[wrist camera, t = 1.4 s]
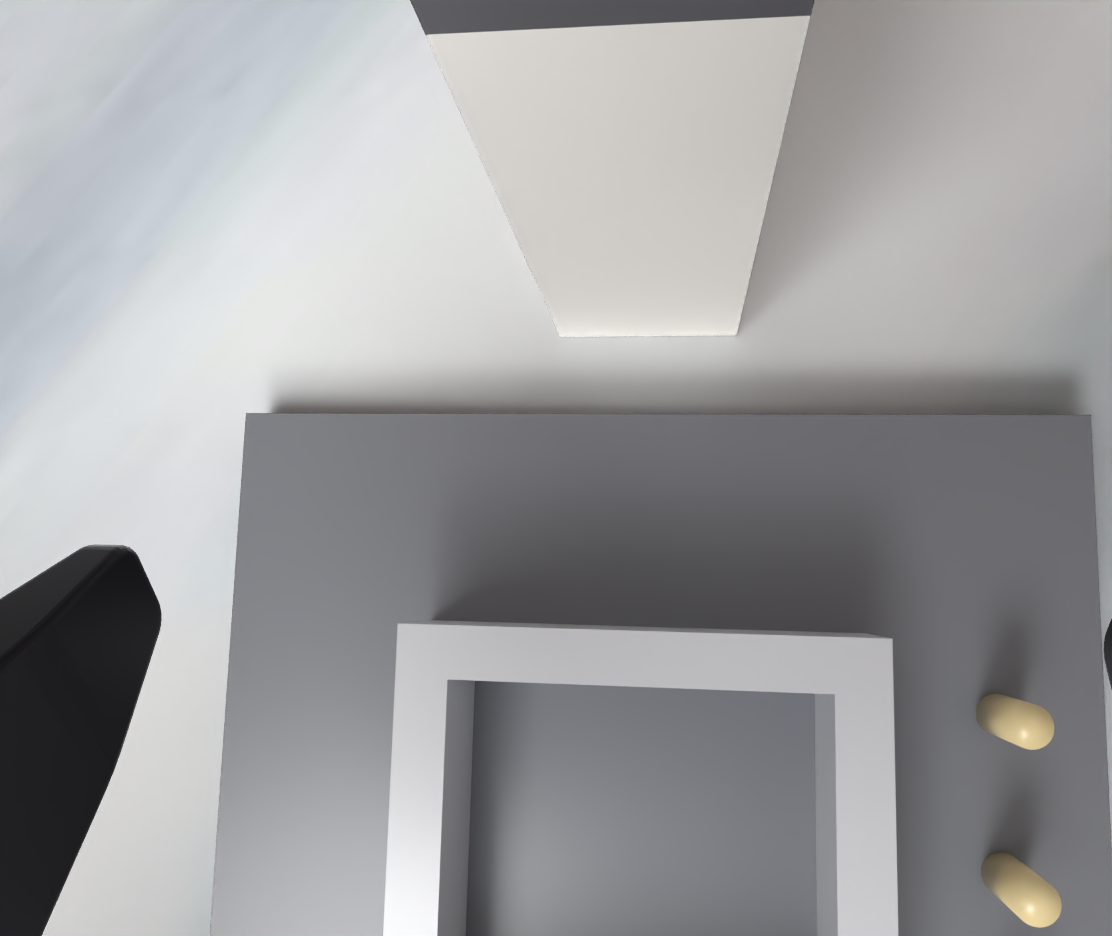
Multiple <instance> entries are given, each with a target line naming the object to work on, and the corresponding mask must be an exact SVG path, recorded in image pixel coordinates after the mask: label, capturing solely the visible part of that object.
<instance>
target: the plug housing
mask: <svg viewBox="0 0 1112 936" xmlns="http://www.w3.org/2000/svg"><path fill="white" fill-rule="evenodd" d="M410 1H411V3H412V5H413V8H414V10H415V12H416V14H417V17H418V19H419V21H420V23H421V26H422V28H423V30H424V32H425V35H426V37H427V39H428V41H429V44H430V46H431V48H432V50H433V53H434V55H435V57H436V59H437V62H438V64H439V66H440V68H441V71H442V73H443V75H444V77H445V79H446V82H447V84H448V86H449V88H450V91H451V93H452V95H453V97H454V100H455V102H456V104H457V106H458V109H459V111H460V113H461V115H462V118H463V120H464V122H465V124H466V127H467V129H468V131H469V133H470V136H471V138H472V140H473V142H474V144H475V147H476V149H477V151H478V153H479V156H480V158H481V160H482V162H483V165H484V167H485V169H486V171H487V174H488V176H489V178H490V180H491V183H492V185H493V187H494V189H495V192H496V194H497V196H498V198H499V201H500V203H501V205H502V207H503V210H504V212H505V214H506V216H507V218H508V221H509V223H510V225H511V227H512V230H513V232H514V234H515V236H516V239H517V241H518V243H519V245H520V248H521V250H522V252H523V254H524V257H525V259H526V261H527V263H528V266H529V268H530V270H531V272H532V275H533V277H534V279H535V281H536V283H537V286H538V288H539V290H540V292H541V295H542V297H543V299H544V301H545V304H546V306H547V308H548V310H549V313H550V315H551V317H552V319H553V322H554V324H555V326H556V328H557V331H558V333H559V335H560V337H609V336H729V335H737V332H738V327H739V323H740V319H741V314H742V310H743V306H744V301H745V297H746V293H747V288H748V284H749V280H750V276H751V271H752V267H753V263H754V258H755V254H756V250H757V245H758V241H759V237H760V232H761V228H762V224H763V219H764V215H765V211H766V207H767V202H768V198H769V194H770V189H771V185H772V181H773V176H774V172H775V168H776V163H777V159H778V155H779V150H780V146H781V142H782V138H783V133H784V129H785V125H786V120H787V116H788V112H789V107H790V103H791V99H792V94H793V90H794V86H795V81H796V77H797V73H798V69H799V64H800V60H801V56H802V51H803V47H804V43H805V38H806V34H807V30H808V25H809V21H810V17H811V12H812V8H813V4H814V0H410Z"/></svg>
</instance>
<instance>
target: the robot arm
mask: <svg viewBox="0 0 1112 936" xmlns="http://www.w3.org/2000/svg"><path fill="white" fill-rule="evenodd" d="M160 627H161V609H160V604H159V602H158V599H157V597H156V595H155V593H154V590H153V588H152V586H151V584H150V582H149V579H148V577H147V575H146V573H145V571H144V568H143V566H142V564H141V562H140V559H139V557H138V556H137V554H136V552H134V551H133V550H132V549H131V548H130V547H127V546H124V545H89V546H85V547H83V548H81V549H79V550H78V551H76V552H74V553H73V554H71V555H70V556H68V557H66V558H65V559H63V560H62V561H60V562H58V563H57V564H55V565H54V566H52V567H50V568H49V569H47V570H46V571H44V572H42V573H41V574H39V575H38V576H36V577H34V578H33V579H31V580H30V581H28V582H26V583H25V584H23V585H22V586H20V587H19V588H17V589H15V590H14V591H12V592H11V593H9V594H7V595H6V596H4V597H3V598H1V599H0V936H42V934H43V932H44V929H45V927H46V925H47V922H48V920H49V918H50V916H51V913H52V911H53V909H54V907H55V904H56V902H57V900H58V898H59V895H60V893H61V891H62V889H63V886H64V884H65V882H66V880H67V877H68V875H69V873H70V870H71V868H72V866H73V864H74V861H75V859H76V857H77V855H78V852H79V850H80V848H81V846H82V843H83V841H84V839H85V837H86V834H87V832H88V830H89V827H90V825H91V823H92V821H93V818H94V816H95V814H96V812H97V809H98V807H99V805H100V803H101V800H102V798H103V796H104V793H105V791H106V789H107V786H108V784H109V781H110V779H111V776H112V774H113V772H114V769H115V766H116V763H117V761H118V758H119V755H120V752H121V750H122V747H123V744H124V740H125V737H126V734H127V731H128V728H129V725H130V722H131V719H132V716H133V712H134V709H135V706H136V703H137V700H138V697H139V694H140V691H141V687H142V684H143V681H144V678H145V675H146V672H147V669H148V666H149V663H150V659H151V656H152V653H153V650H154V647H155V644H156V641H157V638H158V635H159V631H160ZM1104 659H1105V664H1106V668H1107V672H1108V676H1109V680H1110V684H1111V689H1112V619H1111V622H1110V624H1109V627H1108V629H1107V632H1106V635H1105V640H1104Z"/></svg>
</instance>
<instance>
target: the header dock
mask: <svg viewBox="0 0 1112 936" xmlns="http://www.w3.org/2000/svg"><path fill="white" fill-rule="evenodd" d="M210 936H1112V848H1111V827H1110V806H1109V786H1108V765H1107V744H1106V723H1105V702H1104V682H1103V661H1102V640H1101V619H1100V598H1099V578H1098V557H1097V536H1096V515H1095V494H1094V474H1093V453H1092V432H1091V415H853V414H348V413H246V421H245V435H244V450H243V464H242V479H241V493H240V508H239V522H238V536H237V551H236V565H235V580H234V594H233V609H232V623H231V638H230V652H229V666H228V681H227V695H226V710H225V724H224V739H223V753H222V768H221V782H220V796H219V811H218V825H217V840H216V854H215V869H214V883H213V898H212V912H211V926H210Z"/></svg>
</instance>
